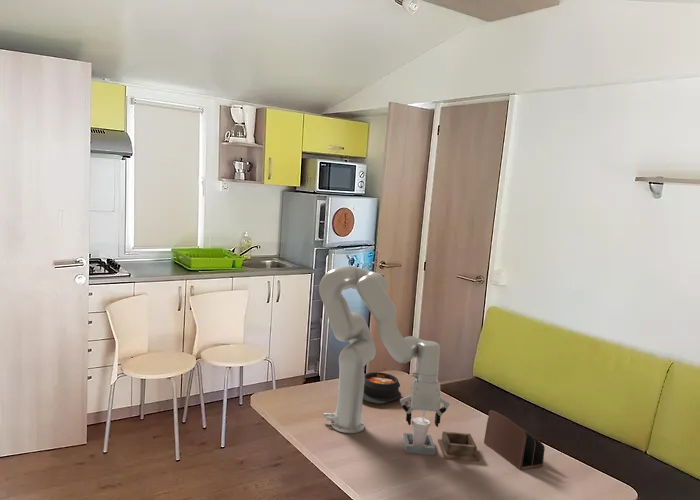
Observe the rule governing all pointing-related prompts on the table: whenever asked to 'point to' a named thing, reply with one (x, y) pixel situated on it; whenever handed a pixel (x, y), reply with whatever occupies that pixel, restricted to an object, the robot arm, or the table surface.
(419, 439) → the smoothie
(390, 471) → the table surface
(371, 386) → the casserole
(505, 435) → the letter holder
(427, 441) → the holder
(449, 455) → the socket
